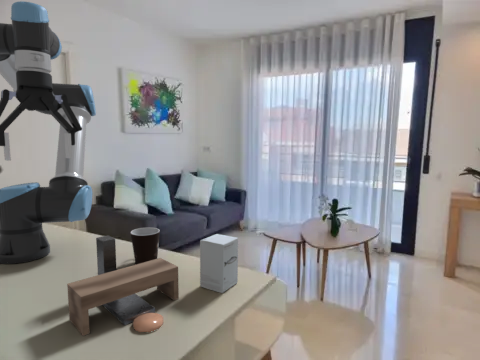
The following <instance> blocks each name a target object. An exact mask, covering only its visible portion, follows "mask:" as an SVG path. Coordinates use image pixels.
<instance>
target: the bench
mask: <svg viewBox="0 0 480 360" xmlns="http://www.w3.org/2000/svg"><path fill="white" fill-rule="evenodd" d="M66 284H67V285H66V286H67V300H68V317H69V318H68V320H69V321H70V322H71V323H72V325H73V326H74V327H75V328H76V329H77V331H78V332H79V333H80V334H81V335H82V336H83V337H85V336H87V335H89V334H90V316H89V314H90V313H89V310H91V309H93V308H97V307H100V306H103V304H106V303H109V302H112V301H115V300H118V299H121V298H124V297H127V296H129V295H132V294H138V293H140V292H144V291H147V290H149V289H150V290H151V289H152V288H156V290H157V291H159V292H160V293H162V294H164V295H165V296H167V297H169V298H170V299H172V300H173V301H176V300H179V298H180V297H179V293H180V290H179V266H178V265H176V264H173V263H171V262H169V261H167V260H165V259H163V258H161V257H157V259H154V260H151V261H147V262H144V263H140V264H137V265H136V264H133V265H130V266H126V267H122V268H119V269H117V270H115V271H111V272H108V273H104V274H101V275H98V274H97V275H93V276H90V277H87V278H83V279H81V280H76V281H72V282H69V283H66Z"/></svg>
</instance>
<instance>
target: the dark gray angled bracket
mask: <svg viewBox="0 0 480 360" xmlns="http://www.w3.org/2000/svg"><path fill="white" fill-rule="evenodd" d="M95 238H96V239H95V240H96V242H95V243H96V258H97V259H96V260H97V275H101V274H104V273H108V272H111V271H115V270H118V268H117V251H116V250H117V249H116V245H117V244H116V238H115V237H112V236H110V235H109V234H108V235H103V236H98V237H95ZM102 306H103V308H105V309H106V310H107V311H108V312H109V313H110V314H112V315H113V316H114V317H115V318H116V319H117V320H118V321H120V323H121V324H122V325H124V326H127V325H129V324H133V321H134V320H135V318H137V317H138V316H140V315H142V314H146V313H156V308H155V306H153V305H151V304H150V303H149V302H147V301H146V300H145V299H144V298H142V297H140V296H139V295H137V293H135V294H132V295H129V296H127V297H124V298H121V299H118V300H115V301H112V302H109V303H106V304H103V305H102Z"/></svg>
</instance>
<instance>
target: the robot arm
mask: <svg viewBox="0 0 480 360" xmlns="http://www.w3.org/2000/svg"><path fill="white" fill-rule="evenodd" d="M10 13H11V14H10V15H11V17H10V20H11V23H3V22H0V76H1V77H2V78H3V79H4V81H6V82H7V84H8V85H9V86H10V87H11V88H12V90H13V91H12V90H10V89H8V88H7V89H6V88H4V89H2V90H1V91H0V118H1V116H2V115H3V113H4V111H5V109H6V107H7V106H8V103H9V101H12V100H13V98H14V97H15V99H16V100H17V101H18V102H19V104H17V106H16V107H15V109H14V110H13V111H12V112H11V113H10V114H9V115H8V116H7V117H6V118H5V119H4V120H3V121H2V122H1V123H0V147H3V154H4V155H3V156H4V161H8V162H9V161H11V160H12V159H11V158H12V157H11V145H10V135H9V132H5V131H6V130H7V129H8V128H9V127H10V125H12V124H13V122H15V120H16V119H18V117H19V116H20V115H21V114H22V113H23V112H24V111H26V110H27V111H31V112H33V111H36V112H38V113H40V114H45V115H48V116H49V115H50V116H51V117H53V119H54V120H55V121H56V122H57V123H59V132H58V140H57V142H58V143H57V152H56V164H55V173H54V174H55V175H54V176H53V177H51V178H50V179H49V182H48V186H41V185H40V183H39V182H26V183H20V184H14V185H10V186H8V185H7V186H5V187H2V188H0V264H3V265H4V264H6V265H7V264H8V265H9V264H10V265H13V264H21V263H28V262H31V261H32V262H33V261H35V260H38V259H42V258H44V257H46V256H48V255H50V253H51V244H50V243H49V241H48V238H47V236H46V234H45V231H44V230H43V224H46V223H48V224H49V223H50V224H51V223H65V222H70V223H73V222H79V221H84V220H86V219H87V218H88V217H89V216H90V213H91V209H92V204H93V189H92V186H91V185H89V183H88V181H87V180H86V179H85V178H84V171H85V170H84V169H85V151H86V135H87V134H86V133H87V132H86V131H87V124H88V123H90V122H91V119H92V117H94V116H96V114H97V111H96V104H95V98H94V97H95V96H94V93H93V89H92V87H91V86H90V85H88V84H80V83H78V84H73V83H72V84H71V83H54V82H53V76H52V75H51V72H52V60H55V59H56V58H58V57H59V56H60V55H61V53H62V48H63V47H62V43H61V41H60V38H59V36H58V35H57V33H55V32H54V31H52V29H51V27H50V18H49V15H48V11H47V9H46V8H45V7H44V6H42V5H41V4H37V3H35V2H30V1H22V0H21V1H15V2H13V3H12V4H11V10H10Z"/></svg>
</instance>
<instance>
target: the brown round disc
mask: <svg viewBox="0 0 480 360" xmlns="http://www.w3.org/2000/svg"><path fill="white" fill-rule="evenodd" d="M132 325H133V327H134V328H133V330H134V329H135V330H134V331H135V332H137V331H138V333H141V332H149V333H152V332H151V331H153V332H155V331H154V330H156V329H158V330H159V328H160V327H161V326H162V325H164V316H163V315H162V314H160V313H157V312H155V313H146V314H142V315H140V316H138V317H137V318H135V320H134V321H133V322H132ZM162 327H163V326H162ZM162 327H161V328H162ZM161 328H160V329H161ZM156 331H157V330H156Z"/></svg>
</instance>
